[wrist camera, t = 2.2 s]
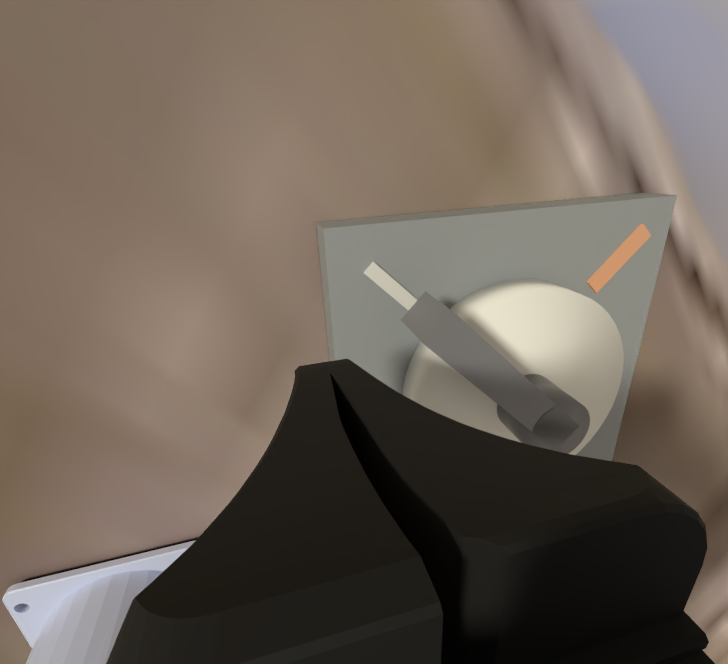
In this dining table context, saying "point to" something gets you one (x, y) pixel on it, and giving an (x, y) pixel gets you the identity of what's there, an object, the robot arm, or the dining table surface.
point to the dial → (518, 362)
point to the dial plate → (490, 273)
